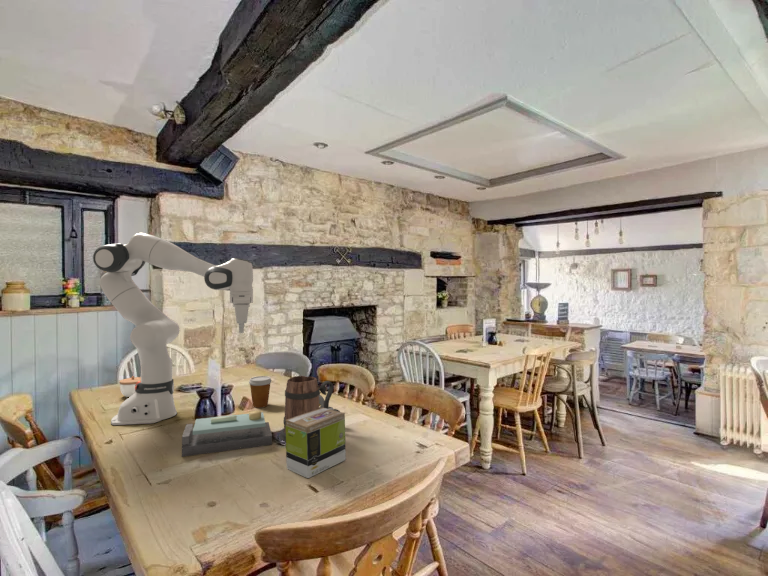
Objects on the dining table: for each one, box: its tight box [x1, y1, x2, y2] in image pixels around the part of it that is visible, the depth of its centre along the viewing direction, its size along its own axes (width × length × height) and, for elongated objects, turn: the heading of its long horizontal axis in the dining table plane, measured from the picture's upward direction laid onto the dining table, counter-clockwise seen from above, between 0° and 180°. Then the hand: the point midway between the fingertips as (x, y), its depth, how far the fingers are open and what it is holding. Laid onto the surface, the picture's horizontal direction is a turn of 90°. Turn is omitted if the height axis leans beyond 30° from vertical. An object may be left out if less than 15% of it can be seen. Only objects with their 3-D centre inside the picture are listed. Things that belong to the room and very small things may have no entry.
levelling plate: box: [193, 410, 266, 435], centre depth 135 cm, size 22×12×3 cm, turn 110°
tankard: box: [278, 375, 341, 442], centre depth 144 cm, size 24×17×20 cm
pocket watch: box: [319, 391, 334, 410], centre depth 168 cm, size 8×8×10 cm
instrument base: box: [181, 421, 273, 457], centre depth 135 cm, size 27×14×6 cm, turn 110°
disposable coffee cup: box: [248, 375, 272, 409], centre depth 176 cm, size 10×10×12 cm
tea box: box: [285, 407, 347, 479], centre depth 119 cm, size 15×10×15 cm, turn 141°
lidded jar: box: [118, 375, 141, 398], centre depth 191 cm, size 11×11×9 cm
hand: (241, 332), depth 162 cm, fingers closed
